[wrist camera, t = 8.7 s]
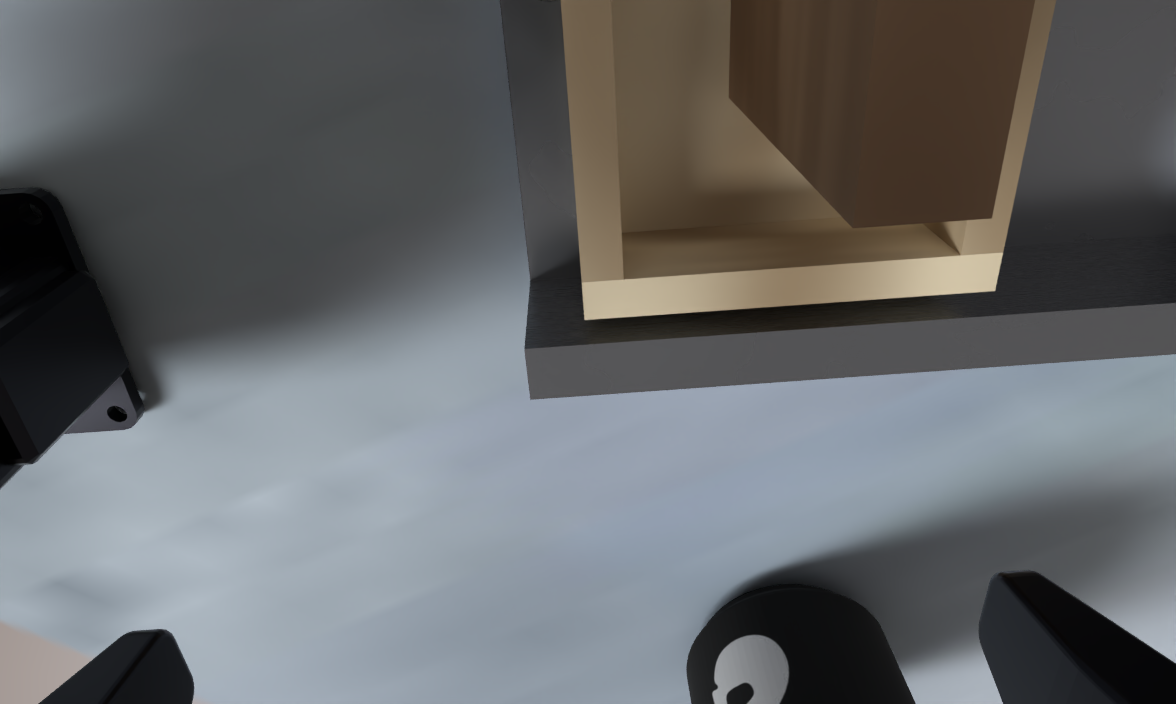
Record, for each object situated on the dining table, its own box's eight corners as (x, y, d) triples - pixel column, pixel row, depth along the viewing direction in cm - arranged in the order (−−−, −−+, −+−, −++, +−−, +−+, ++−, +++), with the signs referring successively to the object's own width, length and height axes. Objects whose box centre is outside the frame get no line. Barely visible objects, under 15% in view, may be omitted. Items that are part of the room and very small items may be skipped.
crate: (580, 256, 18) (593, 486, 11) (540, -294, 13) (512, -569, 6) (925, 231, 18) (1177, 446, 11) (1012, -330, 13) (1591, -654, 6)
